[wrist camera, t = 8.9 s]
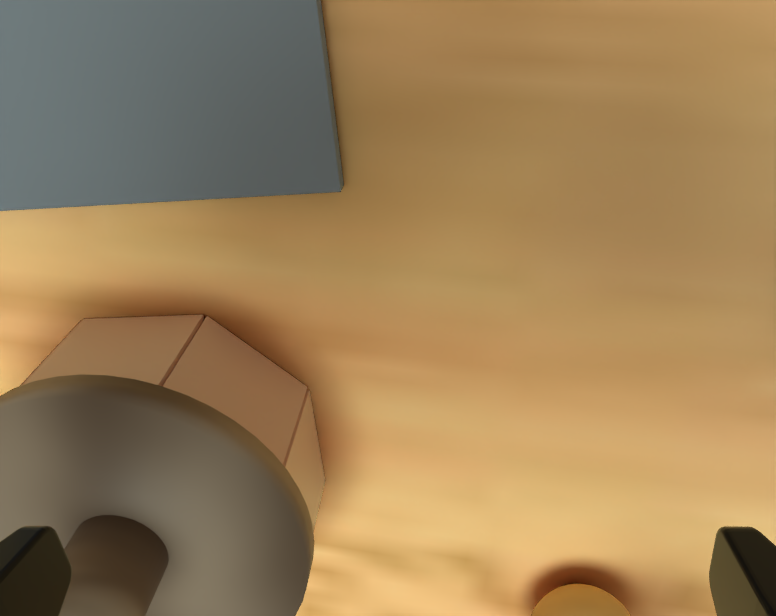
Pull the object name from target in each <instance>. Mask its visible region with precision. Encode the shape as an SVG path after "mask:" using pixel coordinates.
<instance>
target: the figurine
mask: <svg viewBox="0 0 776 616" xmlns="http://www.w3.org/2000/svg"><path fill="white" fill-rule="evenodd" d="M531 616H631V615H630V613H629V612H628V610H627V609H626V608H625V607H624V605H623V604H622V603H621V602H620V601H619V600H617V599H616V598H615V597H614V596H612V595H611V594H610V593H608V592H606V591H604V590H602V589H600V588H598V587H595V586H591V585H587V584H568V585H564V586H561V587H558V588H556V589H554V590H552V591H551V592H549V593H548V594H546V595H545V596H544V597H543V598H542V599H541V600H540V601H539V602H538V604H537V605H536V607H535V608H534V610H533V612H532V614H531Z"/></svg>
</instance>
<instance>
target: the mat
mask: <svg viewBox="0 0 776 616" xmlns="http://www.w3.org/2000/svg"><path fill="white" fill-rule="evenodd" d="M343 185H344V182H343V174H342V166H341V158H340V150H339V142H338V134H337V126H336V118H335V110H334V102H333V94H332V86H331V78H330V70H329V62H328V53H327V45H326V37H325V29H324V21H323V13H322V5H321V0H0V211H7V210H25V209H43V208H61V207H79V206H97V205H114V204H132V203H150V202H168V201H186V200H204V199H222V198H240V197H257V196H275V195H293V194H311V193H329V192H341V190H342V188H343Z"/></svg>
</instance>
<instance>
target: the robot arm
mask: <svg viewBox="0 0 776 616" xmlns="http://www.w3.org/2000/svg"><path fill="white" fill-rule="evenodd" d="M71 577H72V569H71V564H70V561H69V559H68V557H67V554H66V552H65V550H64V548H63V545H62V543H61V541H60V539H59V536H58V534H57V532H56V531H55V530H54V529H53V528H52V527H50V526H24V527H21V528H19V529H17V530H16V531H14V532H13V533H12V534H10V535H9V536H7V537H6V538H5V539H3V540H2V541H0V616H59V615H60V612H61V609H62V606H63V603H64V600H65V597H66V594H67V591H68V588H69V586H70V582H71ZM709 581H710V588H711V593H712V597H713V601H714V605H715V609H716V613H717V616H776V546H775V545H774V544H773V543H772V542H771V541H770V540H768V539H767V538H766V537H765V536H764V535H763V534H762V533H761V532H759V531H758V530H756V529H754V528H752V527H721V528H720V529H719V530H718V532H717V534H716V538H715V544H714V549H713V554H712V560H711V565H710V571H709Z"/></svg>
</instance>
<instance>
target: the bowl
mask: <svg viewBox="0 0 776 616" xmlns="http://www.w3.org/2000/svg"><path fill="white" fill-rule="evenodd" d="M80 374H83V375H109V376H116V377H123V378H130V379H136V380H140V381H144V382H148V383H152V384H156V385H160V386H163V387H166V388H168V389H171V390H174V391H177V392H180V393H182V394H185V395H188V396H190V397H192V398H194V399H196V400H198V401H200V402H202V403H205V404H207V405H209V406H211V407H213V408H214V409H216V410H218V411H219V412H221V413H223V414H224V415H226V416H228V417H229V418H231V419H233V420H234V421H236V422H237V423H238V424H240V425H241V426H242V427H244V428H245V429H246V430H248V431H249V432H250V433H252V434H253V435H254V436H255V437H256V438H258V439H259V440H260V441H261V442H262V443H263V444H264V445H265V446H266V447H267V448H268V449H269V450H270V451H271V452H272V453H273V454H274V455H275V456H276V457H277V458H278V460H279V461H280V462H281V463H282V464H283V466H284V467H285V468H286V469H287V470H288V472H289V473H290V475H291V477H292V478H293V480H294V481H295V483H296V484H297V486H298V487H299V489H300V491H301V494H302V496H303V498H304V500H305V502H306V504H307V507H308V510H309V514H310V517H311V521H312V524H313V532H314V528H315V524H316V519H317V515H318V511H319V506H320V502H321V498H322V494H323V489H324V485H325V475H324V470H323V464H322V458H321V452H320V447H319V441H318V435H317V430H316V424H315V418H314V412H313V407H312V401H311V395H310V390H307V386H305V385H304V384H303V383H301V382H300V381H298V380H297V379H296V378H294V377H293V376H291V375H290V374H288V373H287V372H286V371H284V370H283V369H281V368H280V367H279V366H277V365H276V364H274V363H273V362H272V361H270V360H269V359H267V358H266V357H265V356H263V355H262V354H260V353H259V352H257V351H256V350H255V349H253V348H252V347H250V346H249V345H248V344H246V343H245V342H243V341H242V340H241V339H239V338H238V337H236V336H235V335H233V334H232V333H231V332H229V331H228V330H226V329H225V328H224V327H222V326H221V325H219V324H218V323H217V322H215V321H214V320H212V319H211V318H210V317H208V316H207V317H206V318H205V319H204V316H203V315H177V316H148V317H120V318H92V319H83V320H82V321H80V322H79V323H78V324H77V325H76V326H75V327H74V328H73V329H72V330H71V331H70V333H69V334H68V335H67V336H66V337H65V338H64V339H63V340H62V341H61V342H60V343H59V344H58V345H57V347H56V348H55V349H54V350H53V351H52V352H51V353H50V354H49V355H48V356H47V357H46V358H45V359H44V360H43V362H42V363H41V364H40V365H39V366H38V367H37V368H36V369H35V370H34V371H33V372H32V373H31V374H30V376H29V377H28V378H27V379H26V380H25V381H24V382H23V383H22V384H21V385H20V386H22V385H25V384H28V383H31V382H33V381H38V380H42V379H47V378H52V377H57V376H68V375H80ZM20 386H19V387H20Z"/></svg>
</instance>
